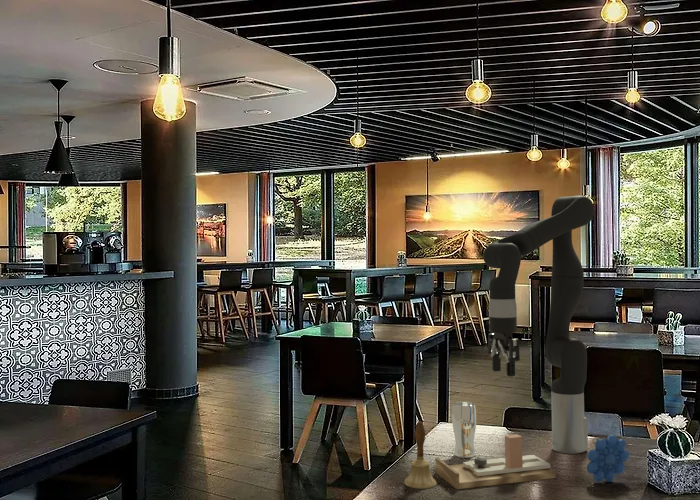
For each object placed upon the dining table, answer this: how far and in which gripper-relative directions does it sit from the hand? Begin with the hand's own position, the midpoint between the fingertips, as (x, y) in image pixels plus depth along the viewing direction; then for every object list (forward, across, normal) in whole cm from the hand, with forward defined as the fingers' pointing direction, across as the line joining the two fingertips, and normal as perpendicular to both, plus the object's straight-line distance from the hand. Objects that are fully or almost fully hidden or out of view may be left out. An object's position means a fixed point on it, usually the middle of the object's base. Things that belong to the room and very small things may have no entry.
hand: (503, 373), depth 195 cm
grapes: (+26, -20, -19) cm, 37 cm away
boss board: (+26, -7, +6) cm, 27 cm away
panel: (+24, -7, +3) cm, 25 cm away
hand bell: (+26, -7, +27) cm, 38 cm away
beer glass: (+26, +12, +6) cm, 29 cm away
